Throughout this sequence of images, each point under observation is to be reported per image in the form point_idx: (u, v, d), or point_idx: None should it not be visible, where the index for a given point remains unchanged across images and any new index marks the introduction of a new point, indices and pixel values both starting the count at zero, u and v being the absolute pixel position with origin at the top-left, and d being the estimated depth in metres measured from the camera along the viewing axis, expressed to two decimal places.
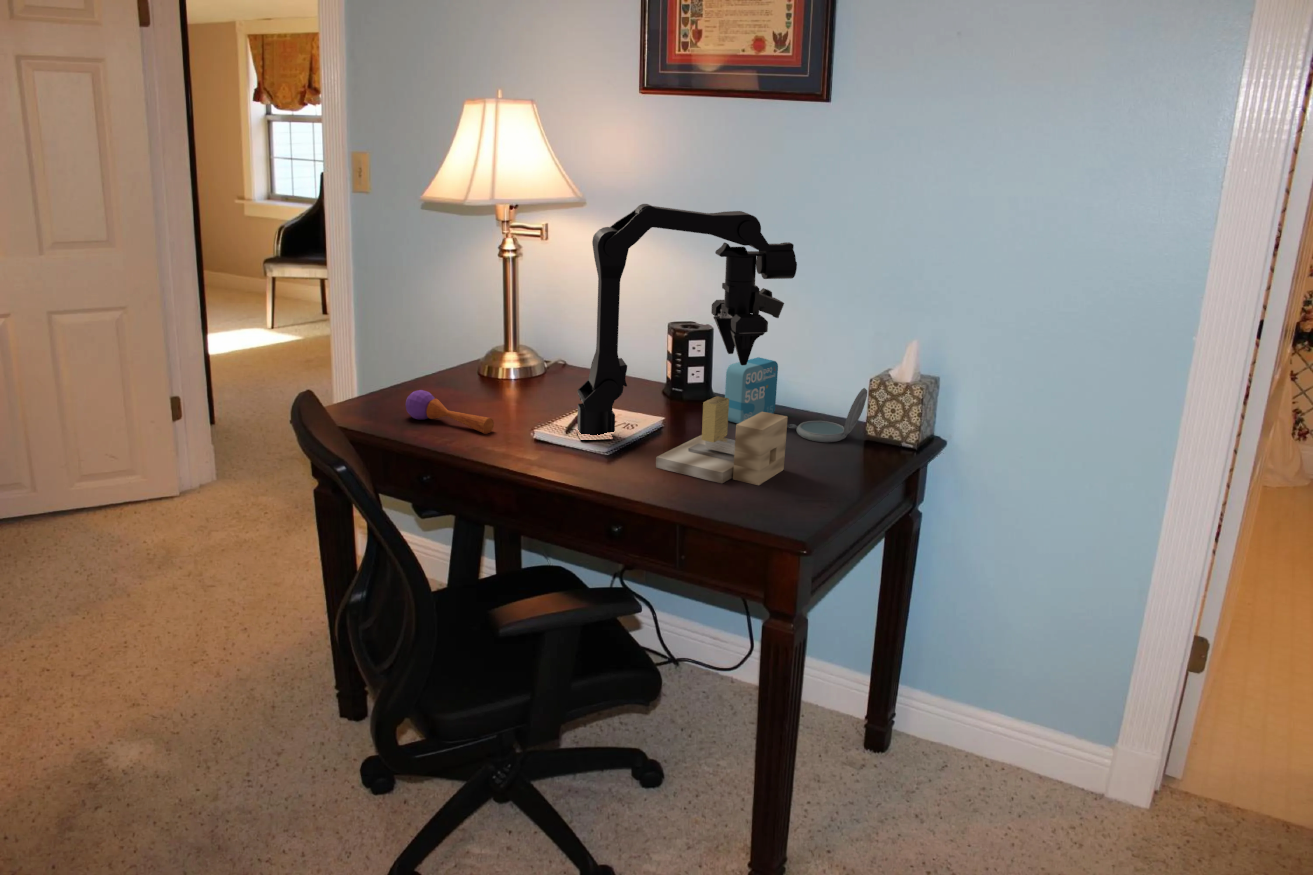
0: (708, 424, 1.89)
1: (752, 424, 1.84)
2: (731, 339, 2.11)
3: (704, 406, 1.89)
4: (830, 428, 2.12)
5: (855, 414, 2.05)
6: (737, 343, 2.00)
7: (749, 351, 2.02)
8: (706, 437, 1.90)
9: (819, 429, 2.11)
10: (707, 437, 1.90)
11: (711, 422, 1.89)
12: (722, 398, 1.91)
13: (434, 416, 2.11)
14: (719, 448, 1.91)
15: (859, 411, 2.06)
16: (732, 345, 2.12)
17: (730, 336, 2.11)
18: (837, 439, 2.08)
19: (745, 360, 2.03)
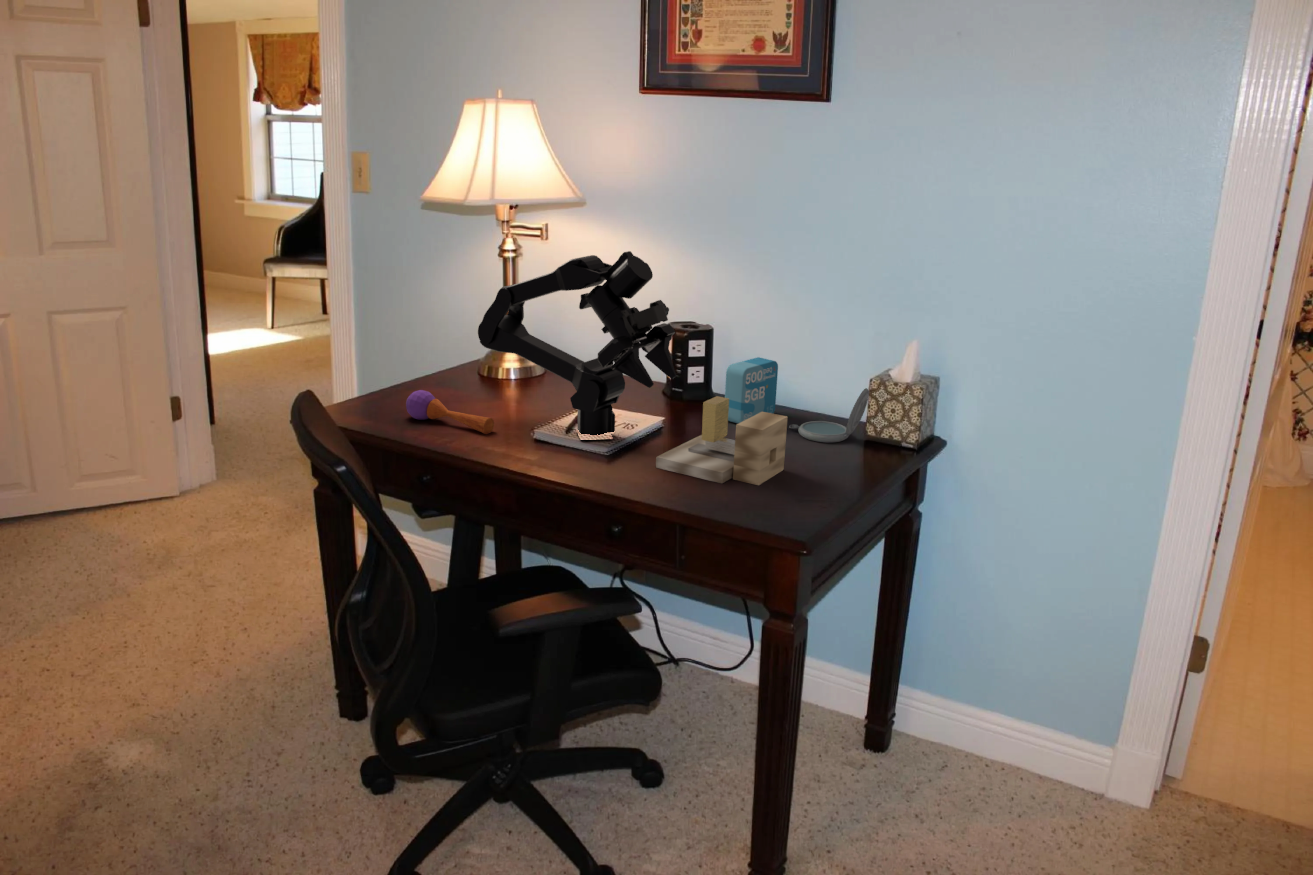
0: (708, 424, 1.89)
1: (752, 424, 1.84)
2: (665, 364, 1.99)
3: (704, 406, 1.89)
4: (832, 428, 2.12)
5: (857, 414, 2.05)
6: (625, 373, 1.92)
7: (642, 371, 1.91)
8: (706, 437, 1.90)
9: (821, 429, 2.11)
10: (707, 437, 1.90)
11: (711, 422, 1.89)
12: (722, 398, 1.91)
13: (434, 416, 2.11)
14: (719, 448, 1.91)
15: (861, 411, 2.06)
16: (669, 369, 1.99)
17: (663, 362, 1.99)
18: (840, 439, 2.08)
19: (647, 381, 1.92)
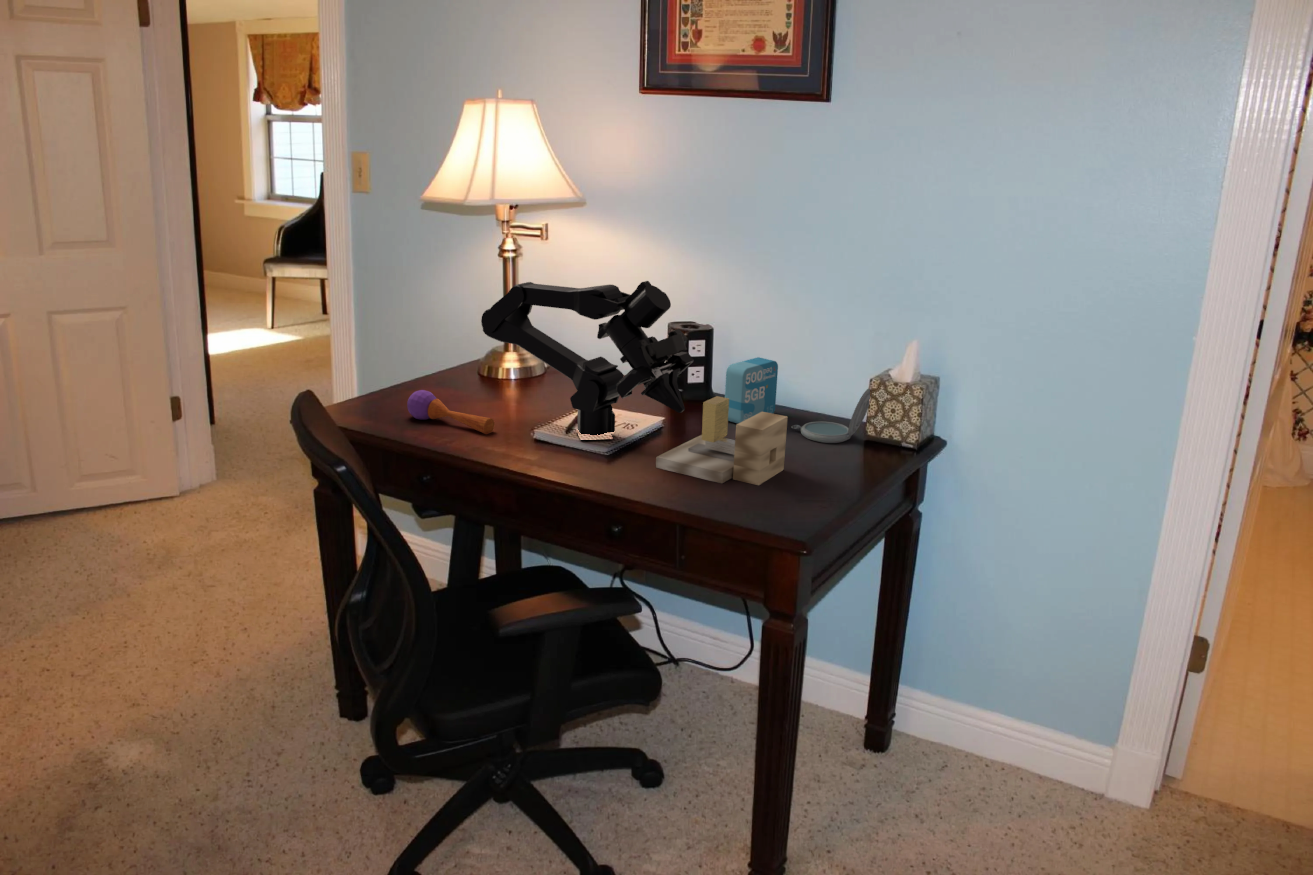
0: (708, 424, 1.89)
1: (752, 424, 1.84)
2: None
3: (704, 406, 1.89)
4: (834, 429, 2.12)
5: (860, 415, 2.05)
6: (655, 398, 1.95)
7: (672, 397, 1.94)
8: (706, 437, 1.90)
9: (823, 430, 2.11)
10: (707, 437, 1.90)
11: (711, 422, 1.89)
12: (722, 398, 1.91)
13: (435, 416, 2.11)
14: (719, 448, 1.91)
15: (863, 412, 2.06)
16: None
17: None
18: (842, 440, 2.08)
19: (677, 407, 1.94)
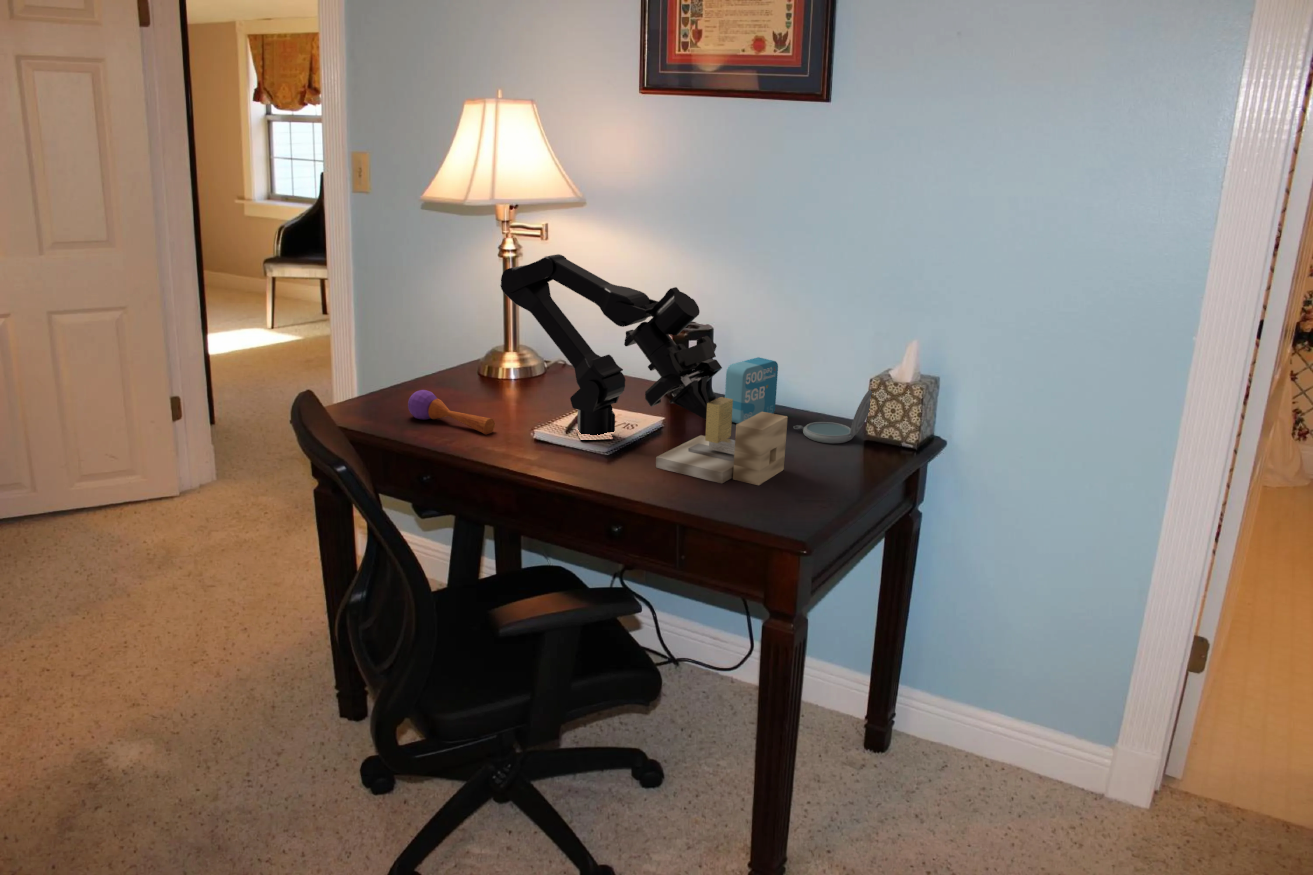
0: (711, 425, 1.89)
1: (752, 424, 1.84)
2: None
3: (708, 407, 1.88)
4: (836, 429, 2.12)
5: (862, 415, 2.05)
6: (684, 406, 1.92)
7: (702, 405, 1.91)
8: (710, 438, 1.90)
9: (825, 430, 2.11)
10: (711, 438, 1.90)
11: (715, 423, 1.88)
12: (726, 399, 1.91)
13: (436, 416, 2.11)
14: (723, 449, 1.91)
15: (866, 412, 2.06)
16: None
17: None
18: (844, 440, 2.08)
19: None
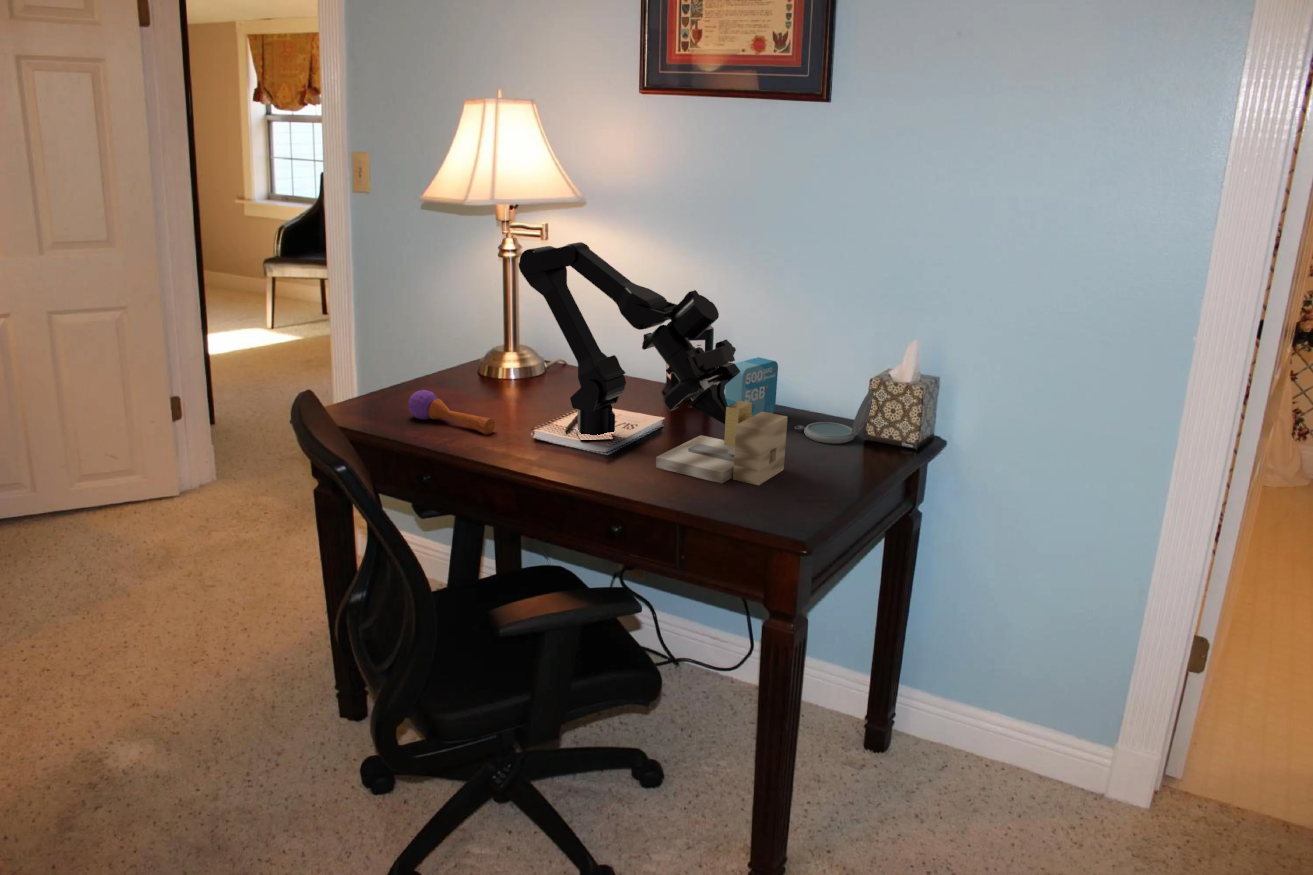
0: (730, 429, 1.87)
1: (752, 424, 1.84)
2: None
3: (727, 411, 1.87)
4: (838, 429, 2.12)
5: (863, 415, 2.04)
6: (703, 410, 1.90)
7: (720, 409, 1.89)
8: (729, 442, 1.88)
9: (827, 430, 2.11)
10: (730, 442, 1.88)
11: (734, 427, 1.87)
12: (745, 402, 1.89)
13: (436, 416, 2.11)
14: None
15: (867, 412, 2.06)
16: None
17: None
18: (845, 440, 2.07)
19: (725, 419, 1.89)
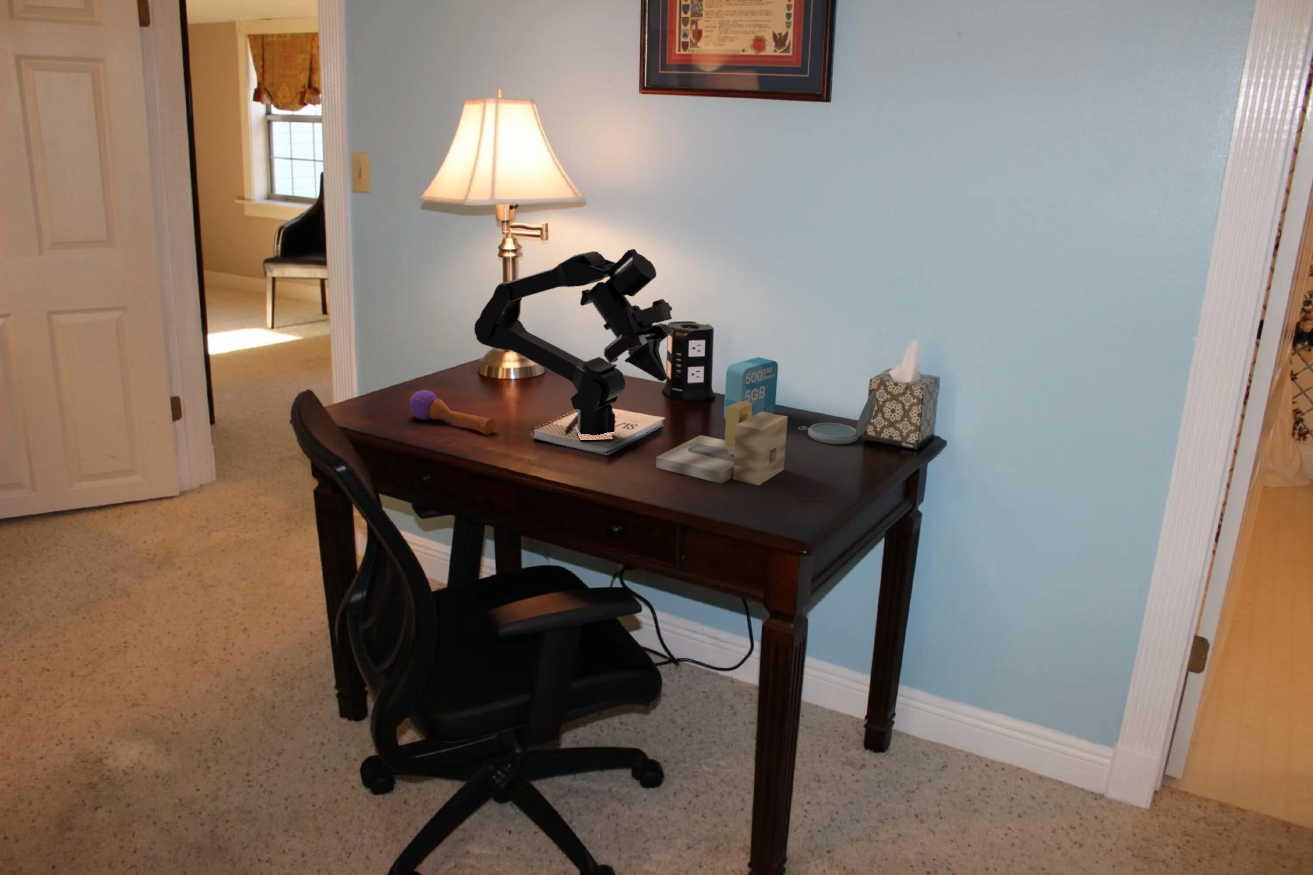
0: (731, 429, 1.87)
1: (752, 424, 1.84)
2: None
3: (727, 411, 1.87)
4: (841, 430, 2.11)
5: (867, 416, 2.04)
6: (638, 366, 1.96)
7: (656, 365, 1.95)
8: (729, 442, 1.88)
9: (830, 431, 2.10)
10: (730, 442, 1.88)
11: (735, 427, 1.87)
12: (745, 403, 1.89)
13: (437, 416, 2.11)
14: None
15: (871, 413, 2.05)
16: None
17: None
18: (849, 441, 2.07)
19: (660, 375, 1.96)
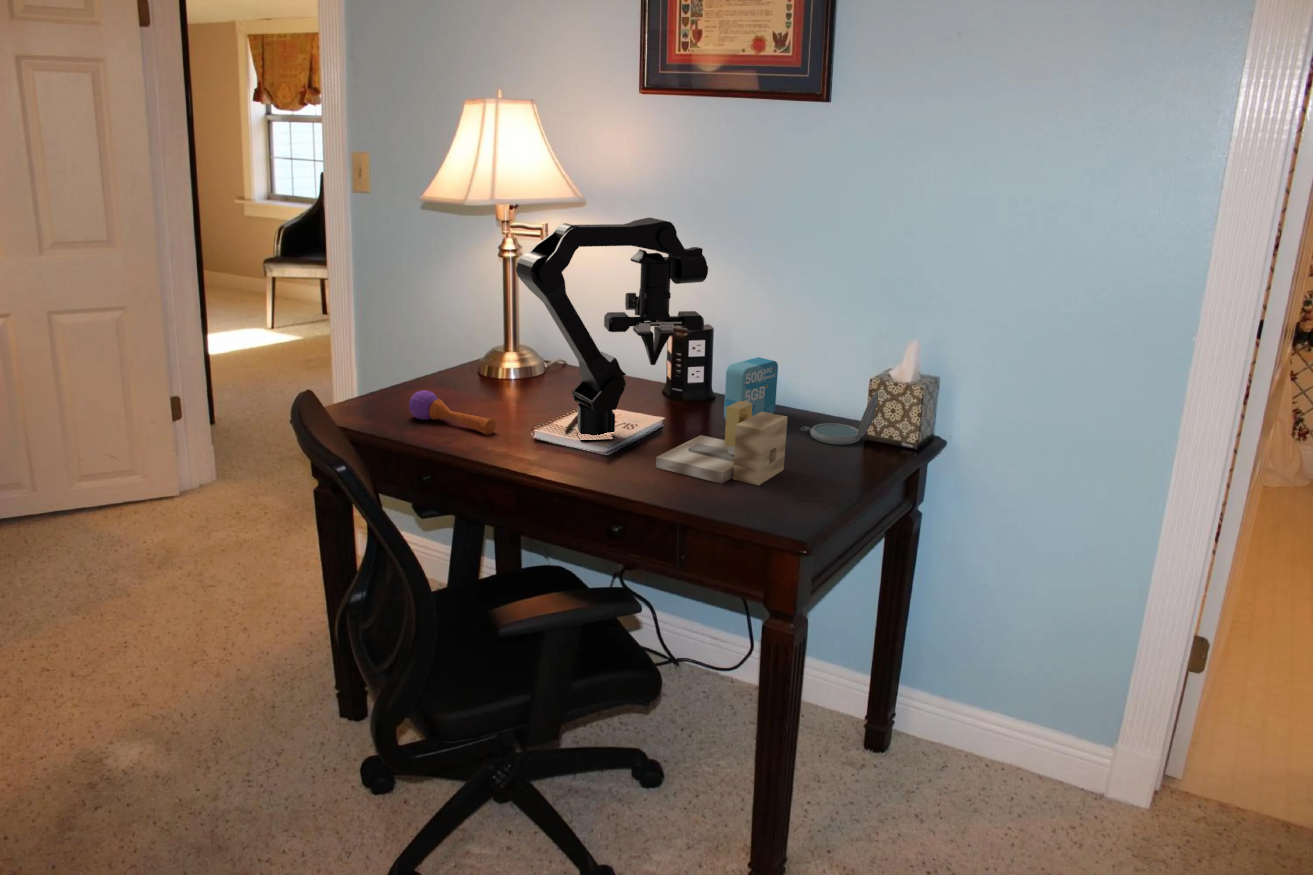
0: (731, 429, 1.87)
1: (752, 424, 1.84)
2: None
3: (727, 411, 1.87)
4: (844, 431, 2.11)
5: (869, 417, 2.04)
6: None
7: None
8: (729, 442, 1.88)
9: (833, 432, 2.10)
10: (730, 442, 1.88)
11: (735, 427, 1.87)
12: (745, 403, 1.89)
13: (437, 416, 2.11)
14: None
15: (873, 413, 2.05)
16: None
17: None
18: (852, 442, 2.07)
19: None
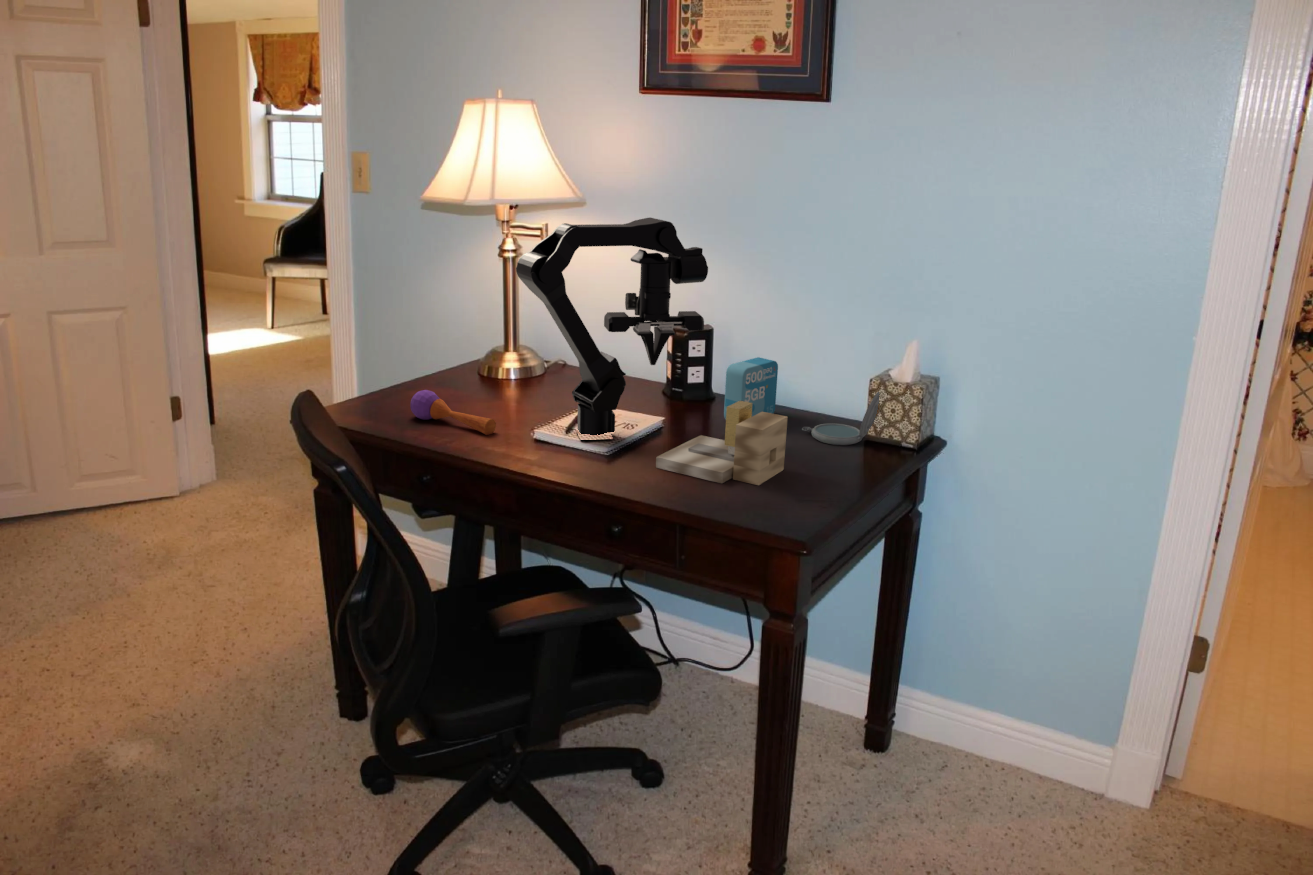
0: (731, 429, 1.87)
1: (752, 424, 1.84)
2: None
3: (727, 411, 1.87)
4: (845, 431, 2.11)
5: (871, 417, 2.04)
6: None
7: None
8: (729, 442, 1.88)
9: (834, 432, 2.10)
10: (730, 442, 1.88)
11: (735, 427, 1.87)
12: (745, 403, 1.89)
13: (438, 416, 2.11)
14: None
15: (875, 414, 2.05)
16: None
17: None
18: (853, 442, 2.07)
19: None
